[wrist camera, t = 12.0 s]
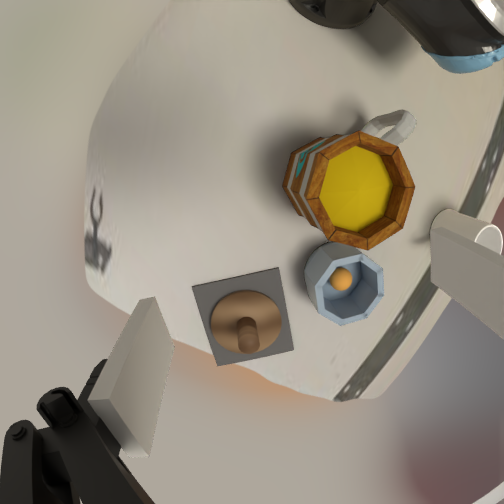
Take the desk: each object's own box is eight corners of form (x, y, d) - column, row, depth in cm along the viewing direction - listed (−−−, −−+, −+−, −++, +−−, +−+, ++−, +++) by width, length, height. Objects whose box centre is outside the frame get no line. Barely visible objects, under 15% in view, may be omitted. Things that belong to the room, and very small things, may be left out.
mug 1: (330, 240, 50) (368, 273, 36) (263, 188, 47) (279, 202, 33) (400, 147, 47) (456, 149, 32) (340, 91, 43) (383, 69, 29)
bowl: (298, 248, 50) (311, 265, 43) (360, 234, 50) (381, 248, 43) (308, 307, 53) (320, 331, 46) (365, 292, 53) (384, 312, 46)
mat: (192, 286, 51) (192, 287, 50) (278, 267, 51) (278, 268, 50) (217, 364, 56) (217, 366, 55) (293, 348, 56) (293, 350, 55)
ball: (325, 267, 50) (332, 275, 46) (346, 262, 50) (354, 269, 46) (328, 287, 51) (334, 296, 48) (348, 282, 51) (356, 291, 48)
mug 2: (417, 263, 53) (455, 288, 41) (413, 218, 50) (454, 236, 39) (463, 246, 53) (503, 266, 41) (461, 204, 50) (503, 217, 39)
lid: (203, 298, 51) (200, 319, 44) (274, 282, 51) (281, 302, 44) (220, 355, 54) (220, 381, 48) (285, 342, 55) (292, 366, 48)
